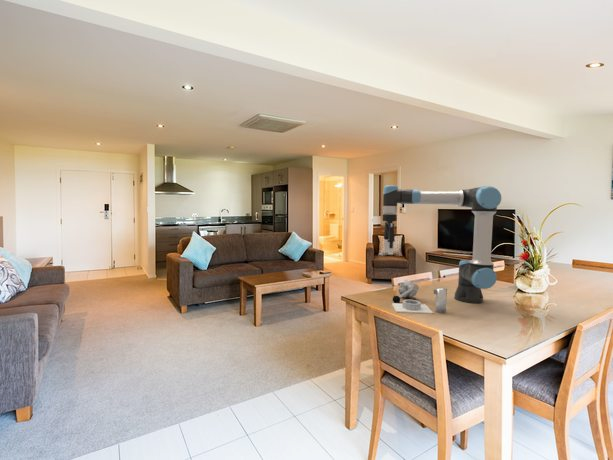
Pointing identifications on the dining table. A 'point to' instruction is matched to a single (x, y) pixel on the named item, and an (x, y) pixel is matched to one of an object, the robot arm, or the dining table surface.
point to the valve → (406, 290)
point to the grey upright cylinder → (441, 299)
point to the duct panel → (411, 307)
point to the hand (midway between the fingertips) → (388, 252)
